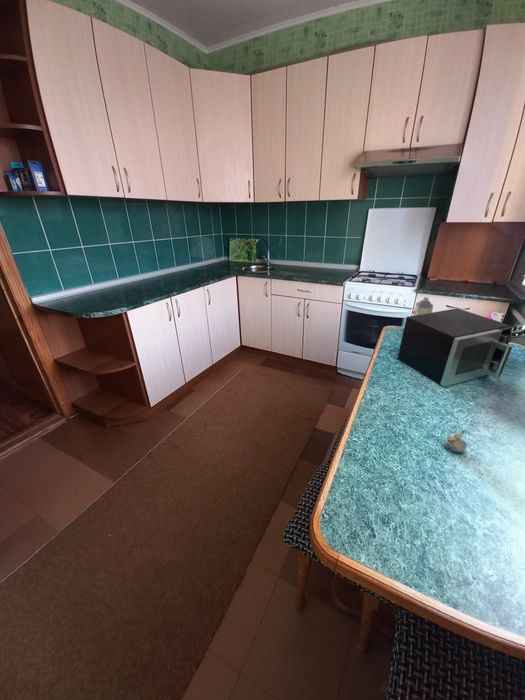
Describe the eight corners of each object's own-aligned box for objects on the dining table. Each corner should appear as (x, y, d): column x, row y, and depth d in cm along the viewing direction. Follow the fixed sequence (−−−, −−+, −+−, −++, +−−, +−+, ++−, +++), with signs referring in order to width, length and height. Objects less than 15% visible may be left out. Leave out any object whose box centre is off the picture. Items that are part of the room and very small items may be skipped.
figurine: (467, 457, 72) (474, 439, 69) (447, 454, 73) (454, 436, 70) (458, 441, 76) (465, 424, 74) (440, 439, 77) (446, 422, 74)
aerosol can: (410, 335, 137) (420, 294, 128) (426, 339, 133) (437, 297, 123) (405, 340, 132) (415, 297, 123) (421, 344, 128) (432, 300, 119)
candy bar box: (477, 347, 125) (490, 311, 118) (491, 350, 122) (505, 313, 115) (472, 356, 118) (485, 318, 110) (487, 360, 115) (501, 321, 107)
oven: (499, 373, 106) (517, 328, 98) (445, 388, 98) (460, 340, 90) (445, 348, 125) (457, 308, 117) (397, 358, 117) (406, 316, 109)
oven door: (502, 384, 99) (522, 337, 91) (459, 396, 94) (477, 347, 86) (480, 373, 106) (497, 328, 98) (440, 384, 100) (454, 337, 92)
